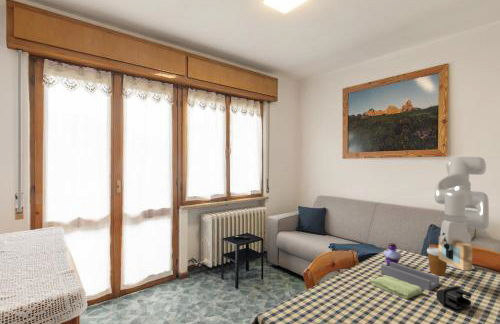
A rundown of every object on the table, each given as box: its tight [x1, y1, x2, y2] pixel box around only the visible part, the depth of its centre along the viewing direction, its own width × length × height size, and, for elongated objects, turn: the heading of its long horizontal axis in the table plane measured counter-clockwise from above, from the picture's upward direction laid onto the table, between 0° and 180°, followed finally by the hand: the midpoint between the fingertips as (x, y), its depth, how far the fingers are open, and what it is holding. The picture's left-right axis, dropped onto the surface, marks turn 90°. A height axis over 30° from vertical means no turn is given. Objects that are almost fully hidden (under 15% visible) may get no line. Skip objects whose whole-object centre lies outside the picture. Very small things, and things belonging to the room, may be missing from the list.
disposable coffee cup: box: [426, 246, 448, 276], centre depth 136 cm, size 10×10×12 cm
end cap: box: [435, 285, 472, 313], centre depth 104 cm, size 10×7×7 cm
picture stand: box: [380, 262, 440, 292], centre depth 128 cm, size 10×22×4 cm, turn 33°
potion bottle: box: [383, 242, 402, 267], centre depth 146 cm, size 9×9×12 cm
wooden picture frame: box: [438, 235, 473, 272], centre depth 121 cm, size 4×14×11 cm, turn 3°
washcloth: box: [370, 275, 424, 300], centre depth 118 cm, size 13×18×3 cm
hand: (454, 257), depth 122 cm, fingers closed on wooden picture frame, 4 cm apart
